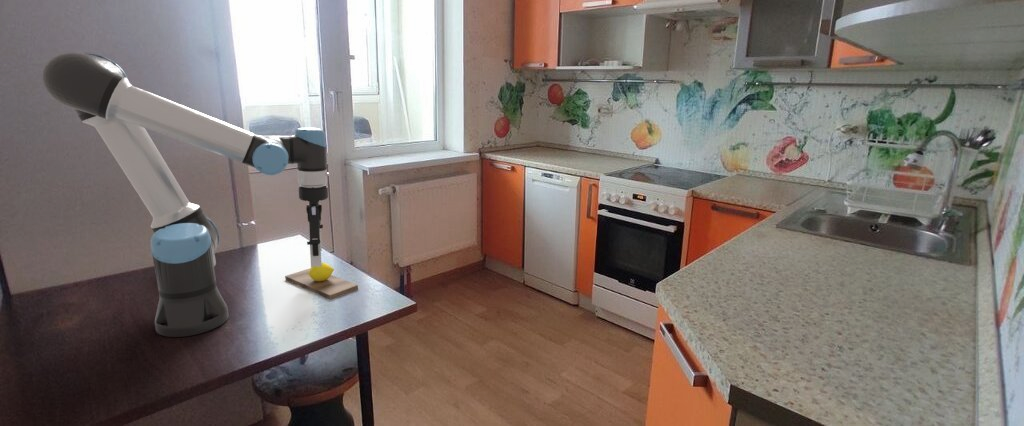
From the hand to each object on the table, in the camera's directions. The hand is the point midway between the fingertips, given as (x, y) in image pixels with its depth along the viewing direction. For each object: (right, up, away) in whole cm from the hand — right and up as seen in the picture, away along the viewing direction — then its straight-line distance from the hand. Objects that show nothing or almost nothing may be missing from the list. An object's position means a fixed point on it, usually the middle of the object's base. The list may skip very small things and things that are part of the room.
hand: (316, 258), depth 146 cm
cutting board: (0, -8, +2) cm, 8 cm away
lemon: (+1, -7, +2) cm, 7 cm away
